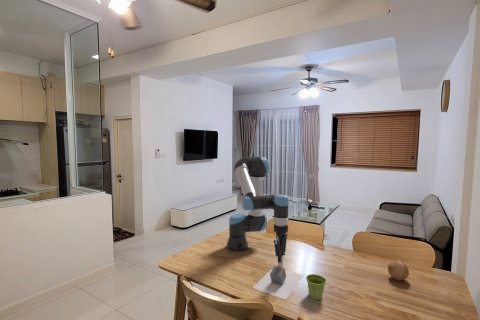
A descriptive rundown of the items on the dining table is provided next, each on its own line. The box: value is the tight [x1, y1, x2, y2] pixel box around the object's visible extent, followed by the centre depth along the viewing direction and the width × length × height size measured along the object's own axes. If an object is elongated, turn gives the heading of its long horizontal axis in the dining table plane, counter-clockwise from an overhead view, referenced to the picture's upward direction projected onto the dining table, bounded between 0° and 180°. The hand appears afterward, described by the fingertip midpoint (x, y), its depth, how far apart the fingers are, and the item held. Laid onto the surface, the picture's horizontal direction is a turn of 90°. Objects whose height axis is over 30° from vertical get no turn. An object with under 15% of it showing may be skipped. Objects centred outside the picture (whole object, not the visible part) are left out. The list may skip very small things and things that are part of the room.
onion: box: [387, 259, 410, 281], centre depth 137 cm, size 10×10×10 cm
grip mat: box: [252, 269, 304, 300], centre depth 134 cm, size 18×26×1 cm
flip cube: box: [270, 265, 286, 285], centre depth 132 cm, size 6×6×6 cm
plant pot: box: [305, 273, 327, 301], centre depth 121 cm, size 9×9×9 cm
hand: (280, 267), depth 135 cm, fingers closed
